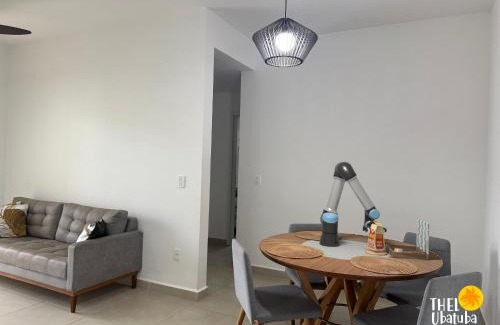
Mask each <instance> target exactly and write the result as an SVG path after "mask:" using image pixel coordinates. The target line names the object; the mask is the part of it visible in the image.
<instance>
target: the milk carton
mask: <svg viewBox="0 0 500 325" xmlns="http://www.w3.org/2000/svg"><path fill="white" fill-rule="evenodd" d="M383 227H384V226H383V225H382V222H381V221H378V220H377V221H376V220H375V221H374V222H373V223H372V225H371V229H370V233H368V237H367V244H366V249H372V250H375V251H378V250H384V251H386V249H385V244H386V243H385V232H383Z"/></svg>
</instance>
